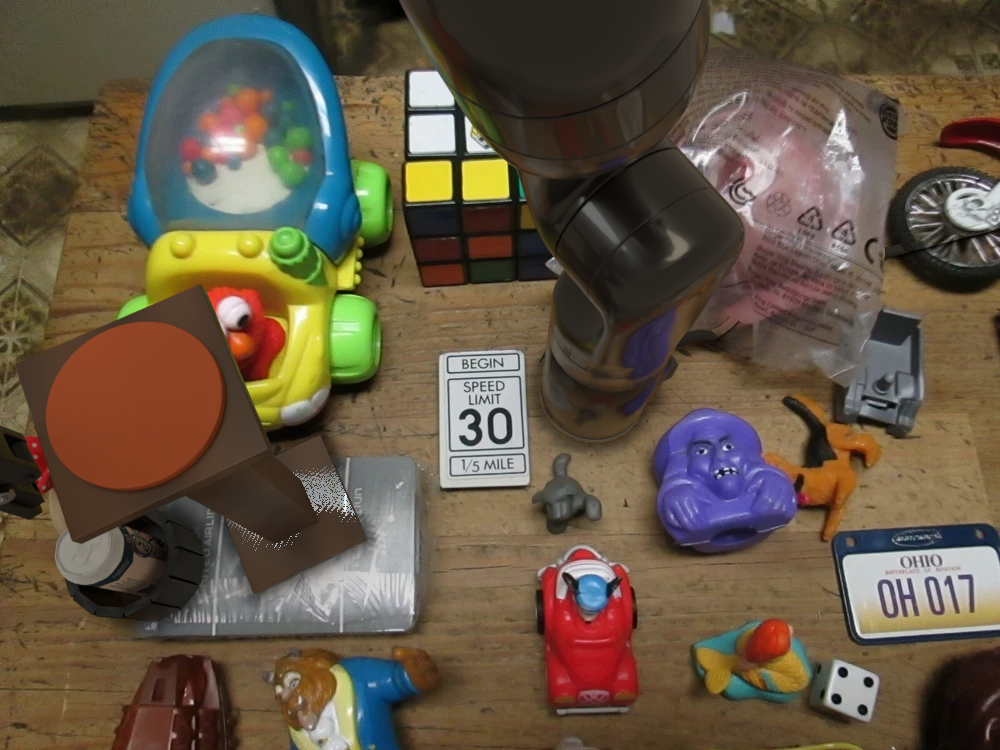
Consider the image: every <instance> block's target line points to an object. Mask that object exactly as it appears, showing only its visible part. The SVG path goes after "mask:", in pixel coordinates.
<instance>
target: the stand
mask: <svg viewBox="0 0 1000 750" xmlns="http://www.w3.org/2000/svg"><path fill="white" fill-rule="evenodd" d="M202 285H203V284H200V283H199V284H196V285H194V286H192V287H190V288H187V289H185V290H183V291H180V292H178V293H175V294H173V295H171V296H169V297H167V298H163V299H161V300H159V301H157V302H154V303H152V304H150V305H148V306H145V307H143V308H141V309H138V310H136V311H134V312H132V313H129V314H127V315H125V316H122V317H120V318H117V319H115V320H112V321H110V322H108V323H106V324H104V325H101V326H98V327H97V328H94V329H92V330H90V331H87V332H84V333H83V334H80V335H78V336H75V337H73V338H71V339H69V340H67V341H64V342H62V343H60V344H57V345H55V346H53V347H50V348H48V349H46V350H43V351H41V352H38V353H36V354H34V355H32V356H29V357H27V358H24V359H23V360H20V361H18V362H16V363H14V368H15V371H16V374H17V377H18V381H19V383H20V386H21V390H22V392H23V396H24V399H25V402H26V405H27V407H28V411H29V414H30V417H31V420H32V423H33V427H34V429H35V432H36V435H37V437H38V439H39V442H40V445H41V448H42V451H43V454H44V457H45V460H46V463H47V466H48V470H49V473H50V476H51V479H52V482H53V485H54V488H55V491H56V494H57V497H58V500H59V503H60V507H61V510H62V513H63V516H64V519H65V522H66V525H67V528H68V531H69V534H70V537H71V540H72V541H73V542H76V543H80V544H83V543H85V542H87V541H89V540H91V539H94V538H96V537H98V536H100V535H102V534H104V533H106V532H109V531H111V530H113V529H115V528H117V527H119V526H121V525H123V524H126V523H128V522H130V521H132V520H134V519H136V518H138V517H141V516H143V515H145V514H147V513H149V512H151V511H153V510H156V509H160V508H162V507H164V506H166V505H168V504H170V503H173V502H175V501H177V500H179V499H182V498H183V497H186V498H188V499H190V500H192V501H193V502H195V503H197V504H199V505H201V506H203V507H205V508H207V509H209V510H210V511H212V512H214V513H216V514H218V515H219V516H221V517H223V520H224V521H225V524H226V528H227V529H228V532H229V534H230V537H231V540H232V542H233V545H234V548H235V550H236V552H237V555H238V558H239V560H240V563H241V565H242V568H243V571H244V573H245V576H246V578H247V581H248V584H249V586H250V588H251V592H252V593H253V595H256V596H258V595H260V594H262V593H264V592H266V591H268V590H271V589H272V588H275V587H276V586H279V585H280V584H283V583H284V582H286V581H288V580H291V579H292V578H295V577H296V576H297V577H298V576H299V575H301V574H304V573H305V572H307V571H309V570H310V569H313V568H315V567H317V566H319V565H321V564H323V563H325V562H327V561H329V560H331V559H333V558H335V557H337V556H339V555H341V554H343V553H345V552H347V551H350V550H351V549H353V548H355V547H357V546H359V545H361V544H363V543H366V542H368V541H369V538H368V535H367V534H366V532H365V530H364V527H363V525H362V523H361V521H360V518H359V516H358V513H357V511H356V509H355V507H354V505H353V502H352V500H351V498H350V495H349V493H348V492H347V491H348V490H347V489H346V487H345V484H344V481H343V480H342V478H341V475H340V473H339V470H338V469H337V466H336V464H335V462H334V459H333V457H332V455H331V453H330V450H329V448H328V446H327V443H326V441H325V439H324V437H323V436H322V434H319V435H316V436H314V437H312V438H309V439H308V440H305V441H304V442H301V443H299V444H297V445H295V446H293V447H290V448H289V449H286V450H284V451H282V452H280V453H277V454H275V451H274V449H273V446H272V445H271V442H270V440H269V437H268V435H267V432H266V430H265V428H264V425H263V423H262V421H261V418H260V415H259V413H258V410H257V409H256V405H255V404H254V401H253V399H252V397H251V394H250V392H249V389H248V387H247V384H246V382H245V379H244V377H243V375H242V372H241V370H240V368H239V366H238V363H237V360H236V358H235V356H234V354H233V351H232V349H231V346H230V344H229V342H228V339H227V337H226V334H225V332H224V329H223V327H222V325H221V322H220V320H219V318H218V315H217V313H216V311H215V307H214V306H213V303H212V301H211V298H210V295H209V294H208V291H207V290H206V289H205V288H204V286H202ZM135 322H158V323H165V324H169V325H173V326H175V327H178V328H180V329H183V330H185V331H186V332H188V333H190V334H192V335H193V336H194V337H196V338H197V339H198V340H200V341H201V342H202V344H203V345H204V346H205V347H206V348H207V349H208V350H209V351H210V352H211V354H212V355H213V356H214V358H215V359H216V361H217V363H218V365H219V367H220V369H221V372H222V376H223V379H224V385H225V408H224V413H223V417H222V421H221V424H220V426H219V429H218V431H217V433H216V435H215V437H214V439H213V441H212V442H211V444H210V445H209V447H208V448H207V450H206V451H205V452H204V453H203V454H202V456H201V457H200V458H199V459H198V460H197V461H196V462H195V463H194V464H193V465H191V466H190V467H189V468H188V469H187V470H185V471H184V472H182V473H181V474H179V475H178V476H176V477H174V478H172V479H171V480H169V481H167V482H164V483H162V484H159V485H157V486H154V487H150V488H146V489H141V490H133V491H118V490H110V489H106V488H102V487H98V486H96V485H94V484H91V483H89V482H87V481H84V480H83V479H81V478H79V477H78V476H76V475H75V474H73V473H72V472H71V471H70V470H69V469H67V468H66V467H65V466H64V464H63V463H62V462H61V461H60V460H59V458H58V457H57V455H56V453H55V452H54V450H53V448H52V445H51V443H50V440H49V436H48V432H47V425H46V407H47V402H48V397H49V394H50V391H51V388H52V385H53V383H54V381H55V379H56V376H57V375H58V373H59V372H60V370H61V368H62V367H63V365H64V364H65V363H66V362H67V360H68V359H69V358H70V357H71V356H72V355H73V354H74V353H75V352H76V351H77V350H78V349H79V348H80V347H81V346H82V345H84V344H85V343H86V342H87V341H89V340H90V339H92V338H93V337H95V336H97V335H98V334H100V333H102V332H104V331H106V330H109V329H112V328H114V327H117V326H120V325H124V324H128V323H135ZM274 454H275V455H274ZM332 465H333V467H332ZM326 466H327V467H326ZM324 467H326V468H325V469H324ZM331 467H332V468H331ZM313 468H314V469H313ZM328 468H329V469H328ZM334 468H335V470H333V469H334ZM317 469H318V470H317ZM322 469H324V470H323V471H322ZM331 469H332V470H333V471H332V470H331ZM296 470H297V471H296ZM301 470H302V471H301ZM306 470H307V471H306ZM320 470H321V472H320ZM326 470H328V471H326ZM309 471H311V472H309ZM315 471H316V472H315ZM325 471H326V473H324V472H325ZM329 471H332V473H334V472H336V474H335V476H336V475H338V476H336V477H339V479H338V481H339V480H340V481H339V482H341V485H342V486H343V488H342V487H341V488H342V489H344V491H345V492H344V493H346V495H347V498H348V500H349V502H350V504H349V505H351V507H352V508H351V507H350V508H351V509H350V510H352V509H353V511H354V513H355V515H354V513H353V516H352V515H351V513H352V512H350V513H349V511H348V512H347V513H349V514H348V515H347V516H345V514H346V512H343V514H341V513H342V512H341V511H342V510H344V509H343V508H342V507H341V509H340V510H338V512H337V509H338V507H336V508H335V509H334V510H333V511H331V509H333V507H334V506H333V505H332V506H331V507H330V508H329V509H328V510H327V507H328V506H327V505H330V503H331V502H330V501H329V503H328V504H326V506H325V507H324V508H323V510H322V511H321V512H320V511H319V509H321V508H322V506H321V505H319V504H316V503H315V502H314V503H315V504H316V505H317V506H318V507H319V508H318V509H317V510H316V511H314V509H313V508H314V507H312V505H311V504H312V503H311V502H310V499H309V498H308V495H307V493H306V491H307V490H305V487H306V486H307V485H308V484H309V483H308V484H307V485H306V486H305V487H304V486H303V484H302V481H303V482H304V481H305V480H302V481H301V480H300V478H298V477H297V476H298V475H299V477H300V476H302V477H304V476H303V475H306V474H307V476H305V478H308V476H311V477H312V476H315V475H316V473H318V472H319V474H322V473H324V475H325V474H327V473H329ZM293 472H294V474H293ZM313 472H314V474H312V475H311V473H313ZM297 473H299V474H298V475H297V476H295V474H297ZM303 473H304V474H303ZM308 473H309V474H308ZM300 474H303V475H300ZM319 474H318V475H317V476H316V477H319V478H321V477H322V478H323V476H324V475H323V476H321V477H320V475H319ZM329 475H330V476H331V477H332V475H333V474H332V475H331V472H330V474H329ZM330 476H327V477H330ZM302 477H301V478H302ZM311 477H310V478H311ZM327 477H326V478H327ZM333 477H334V475H333ZM333 477H332V478H333ZM305 478H304V479H305ZM310 478H309V479H310ZM322 478H321V480H322ZM324 478H325V476H324ZM314 479H315V478H313V479H312V481H313V480H314ZM333 479H335V478H333ZM316 480H317V479H316ZM316 480H315V481H316ZM318 480H319V479H318ZM324 480H325V479H324ZM326 480H327V479H326ZM330 480H331V479H329V480H328V482H329V481H330ZM307 481H309V480H307ZM307 481H305V482H307ZM312 481H311V483H312ZM319 481H320V480H319ZM332 481H333V480H332ZM332 481H331V483H332ZM334 481H335V480H334ZM309 482H310V481H309ZM320 482H321V481H320ZM320 482H319V483H320ZM325 482H326V483H327V481H325ZM336 482H337V481H336ZM339 482H337V483H339ZM311 483H310V484H311ZM337 483H336V484H337ZM310 484H309V485H310ZM328 484H329V483H328ZM328 484H327V485H328ZM311 485H312V484H311ZM311 485H310V487H311V489H312V488H313V487H312V486H311ZM313 485H314V484H313ZM318 485H319V484H318ZM320 485H321V484H320ZM320 485H319V486H320ZM327 485H326V486H327ZM330 485H331V484H330ZM330 485H329V486H330ZM332 485H333V483H332ZM337 485H338V484H337ZM341 485H340V486H341ZM315 486H317V483H316V485H314V487H315ZM323 486H324V484H323ZM317 487H318V486H317ZM321 487H322V486H321ZM321 487H320V488H321ZM324 487H325V486H324ZM330 487H331V486H330ZM334 487H335V483H334ZM334 487H332V488H334ZM328 488H329V487H328ZM337 488H338V487H337ZM306 489H309V488H306ZM317 489H319V488H317ZM329 489H330V488H329ZM342 489H341V490H342ZM330 490H331V491H332V493H333V490H332V489H330ZM335 490H336V489H335ZM313 491H314V489H313ZM313 491H312V492H313ZM324 491H327V490H324ZM307 492H308V491H307ZM335 492H336V491H335ZM335 492H334V493H335ZM337 492H338V491H337ZM337 492H336V493H337ZM339 492H340V491H339ZM317 493H318V492H317ZM327 493H328V492H327ZM313 494H314V492H313ZM313 494H312V495H313ZM319 494H320V493H319ZM330 494H331V493H330ZM325 495H326V494H325ZM337 495H338V494H337ZM309 496H310V495H309ZM323 496H324V494H323ZM326 496H327V495H326ZM338 496H340V495H338ZM341 496H343V495H341ZM344 496H345V495H344ZM344 496H343V497H344ZM310 497H311V496H310ZM313 497H314V496H313ZM324 497H325V496H324ZM324 497H323V498H324ZM332 497H333V496H332ZM314 498H315V497H314ZM314 498H313V499H314ZM321 498H322V497H321ZM325 498H327V497H325ZM328 498H329V497H328ZM333 498H335V497H333ZM336 498H337V499H338V497H336ZM319 499H320V495H319ZM322 500H323V499H322ZM327 500H328V499H327ZM327 500H325V501H327ZM329 500H330V498H329ZM334 500H336V499H334ZM341 500H342V498H341ZM316 501H317V500H316ZM320 501H321V500H320ZM323 501H324V500H323ZM323 501H322V505H323V506H324V504H323V503H325V502H323ZM332 501H333V500H332ZM343 501H344V500H343ZM346 501H347V500H346ZM312 502H313V501H312ZM318 502H319V501H318ZM336 502H337V501H335V503H336ZM347 502H348V501H347ZM326 503H327V502H326ZM335 503H333V504H335ZM339 503H340V502H339ZM341 504H342V503H341ZM316 505H315V506H316ZM337 505H338V506H340V505H339V504H337ZM344 505H345V504H344ZM320 507H321V508H320ZM343 507H345V506H343ZM346 507H348V506H346ZM348 508H349V507H348ZM348 508H347V509H348ZM325 510H327V512H326V511H325ZM317 511H318V512H320V513H318V512H317ZM346 511H347V510H346ZM330 512H331V513H330ZM317 514H318V515H317ZM339 516H340V517H339ZM343 517H345V518H343ZM350 517H352V518H350ZM355 518H356V519H355ZM227 519H229V520H228V521H227ZM342 519H343V520H342ZM349 519H350V520H349ZM230 520H231V521H233V522H235V523H237V524H238V525H241V527H243V530H242V528H241V527H240V528H239V526H238V525H237V527H236V528H235V526H236V524H235V523H234V525H233V527H232V528H231V526H232V524H233V522H231V524H230V525H229V526H228V524H229V522H230ZM341 521H342V522H341ZM347 521H348V522H347ZM354 521H355V522H354ZM238 528H239V530H238ZM244 528H246V529H247V530H245V529H244ZM230 529H231V530H230ZM241 530H242V531H241ZM244 531H246V532H245V533H244ZM248 531H250V532H249V534H247V533H248ZM240 532H241V533H240ZM252 532H253V534H251V533H252ZM243 533H244V535H243ZM255 533H256V536H255V535H254V534H255ZM298 533H299V534H298ZM296 534H297V535H296ZM242 535H243V537H242ZM246 535H247V536H246ZM250 535H252V536H251V537H250ZM257 535H259V538H258V537H257ZM253 536H255V538H254V537H253ZM290 536H292V537H290ZM295 536H297V537H295ZM245 537H246V538H245ZM249 537H250V538H249ZM262 537H263V539H262V540H261V538H262ZM252 538H254V539H252ZM257 538H258V540H257ZM289 538H290V539H289ZM244 539H245V540H244ZM248 539H249V540H248ZM252 540H253V541H252ZM255 540H256V541H257V542H256V541H255ZM260 540H261V541H260ZM288 540H289V541H288ZM243 541H244V542H243ZM247 541H248V542H247ZM281 541H283V543H282V542H281ZM255 542H256V543H255ZM259 542H260V543H259ZM287 542H288V543H287ZM292 542H293V543H292ZM242 543H243V544H242ZM276 543H278V544H277V546H276V547H275V545H276ZM280 543H282V544H280ZM254 544H255V545H254ZM258 544H259V545H258ZM267 544H268V545H267ZM272 544H273V545H272ZM286 544H287V545H286ZM291 544H292V545H291ZM280 545H281V547H280ZM284 545H285V546H284ZM253 546H254V547H253ZM266 546H267V547H266ZM274 547H275V548H274ZM279 547H280V548H279ZM256 548H257V549H256ZM278 549H279V550H278ZM255 550H256V551H255Z"/></svg>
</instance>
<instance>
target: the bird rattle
mask: <svg viewBox="0 0 1000 750" xmlns="http://www.w3.org/2000/svg"><path fill="white" fill-rule="evenodd" d="M24 437H25V439H26V441H27V446H28V448H29V450H30V452H31V454H32V456H33V458H34V460H35V462H36V464H37V465H38V466H39V468H40V471H41V473H42V475H41V477H40V478H39V479H37V480H36V484H37V486H38V488H39V490H40V492H41V494H42V496H43V495H45V494H47V493H48V492H49V496H48V508H49V514H50V519H51V522H52V525H53V527H54V529H55V531H56V532H57V534H59V536H61V535H62V534H63V533H64V532H65V530H66V529H67V525H66V522H65V519H64V516H63V513H62V510H61V507H60V503H59V500H58V497H57V494H56V491H55V488H54V485H53V482H52V479H51V476H50V473H49V470H48V466H47V463H46V460H45V457H44V454H43V451H42V448H41V445H40V442H39V439H38V436H36V435H26V436H24Z"/></svg>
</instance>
